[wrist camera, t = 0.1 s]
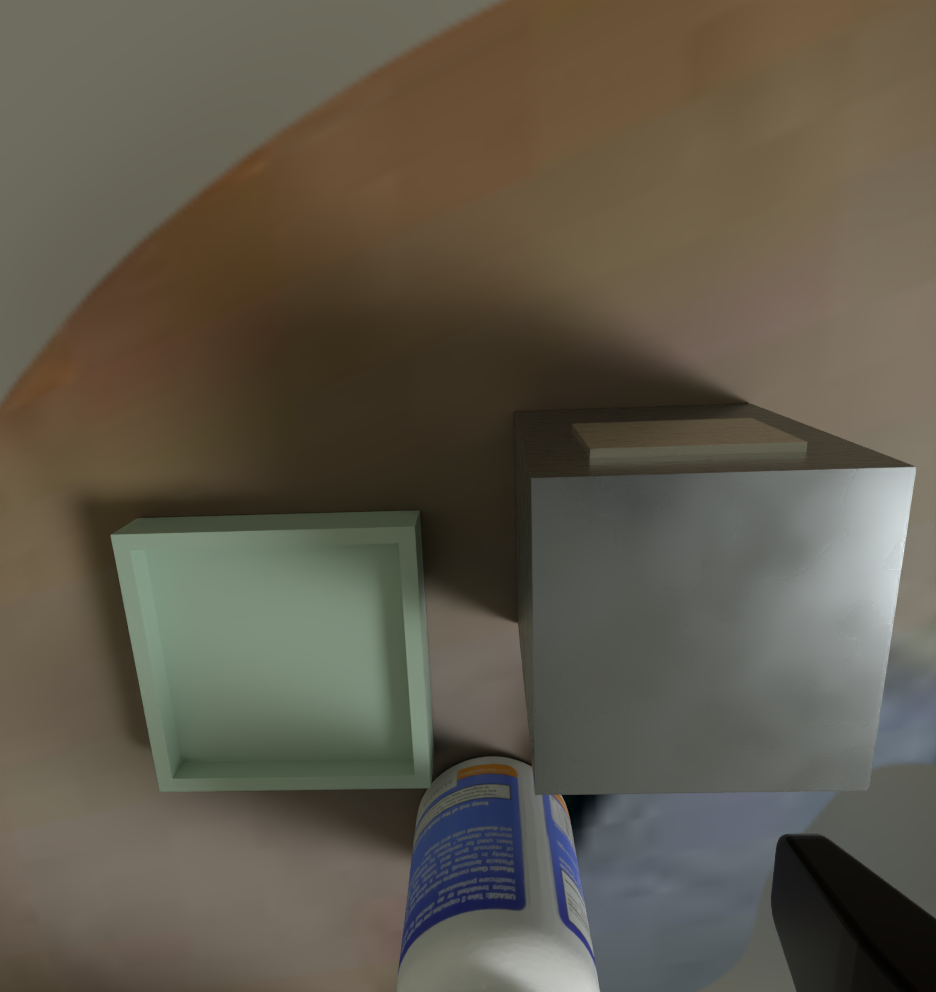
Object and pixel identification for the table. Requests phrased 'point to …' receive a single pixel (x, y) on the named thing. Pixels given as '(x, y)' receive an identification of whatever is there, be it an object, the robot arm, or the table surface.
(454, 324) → the table surface
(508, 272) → the table surface
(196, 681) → the tray
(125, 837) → the table surface
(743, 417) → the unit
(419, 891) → the pill bottle
